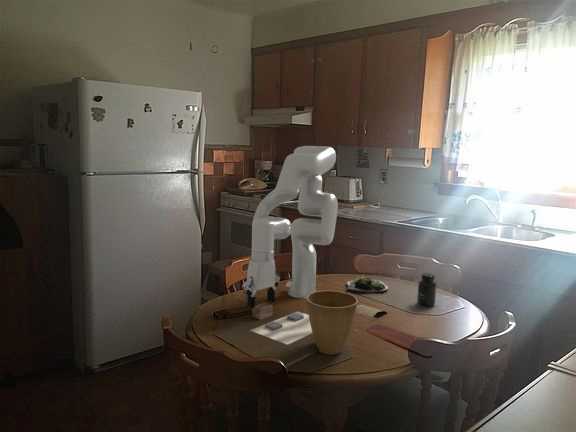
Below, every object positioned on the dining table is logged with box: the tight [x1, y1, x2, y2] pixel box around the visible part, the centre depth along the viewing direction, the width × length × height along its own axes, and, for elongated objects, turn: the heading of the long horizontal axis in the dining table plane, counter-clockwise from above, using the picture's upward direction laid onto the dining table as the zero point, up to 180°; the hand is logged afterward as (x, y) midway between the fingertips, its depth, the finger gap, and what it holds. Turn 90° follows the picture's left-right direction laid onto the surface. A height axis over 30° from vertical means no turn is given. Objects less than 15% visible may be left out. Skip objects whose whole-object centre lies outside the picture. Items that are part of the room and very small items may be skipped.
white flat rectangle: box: [249, 311, 313, 345], centre depth 154 cm, size 16×24×1 cm, turn 139°
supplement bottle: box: [416, 272, 437, 308], centre depth 181 cm, size 7×7×12 cm
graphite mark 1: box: [264, 320, 282, 331], centre depth 153 cm, size 4×4×1 cm
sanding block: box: [251, 302, 274, 321], centre depth 163 cm, size 4×6×5 cm, turn 139°
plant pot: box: [306, 290, 359, 356], centre depth 139 cm, size 15×15×16 cm
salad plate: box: [346, 276, 389, 294], centre depth 203 cm, size 19×18×5 cm
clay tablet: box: [355, 304, 388, 318], centre depth 170 cm, size 14×10×3 cm
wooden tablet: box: [364, 323, 420, 350], centre depth 148 cm, size 27×10×2 cm, turn 38°
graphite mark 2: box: [286, 312, 304, 322], centre depth 161 cm, size 4×4×1 cm
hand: (261, 304), depth 162 cm, fingers open, 9 cm apart
